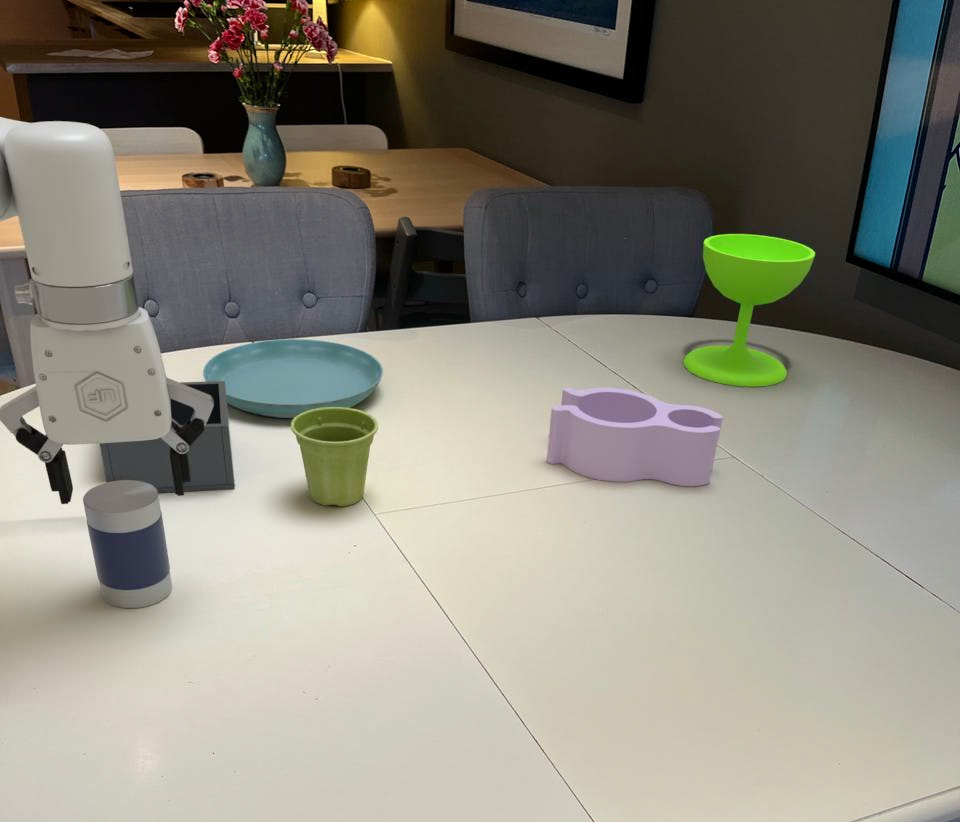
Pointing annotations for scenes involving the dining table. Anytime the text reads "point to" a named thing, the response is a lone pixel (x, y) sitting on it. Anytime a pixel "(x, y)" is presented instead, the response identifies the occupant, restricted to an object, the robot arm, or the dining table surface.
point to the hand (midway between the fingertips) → (124, 493)
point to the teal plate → (294, 376)
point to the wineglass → (748, 302)
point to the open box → (205, 454)
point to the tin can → (128, 543)
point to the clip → (632, 437)
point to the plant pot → (335, 452)
